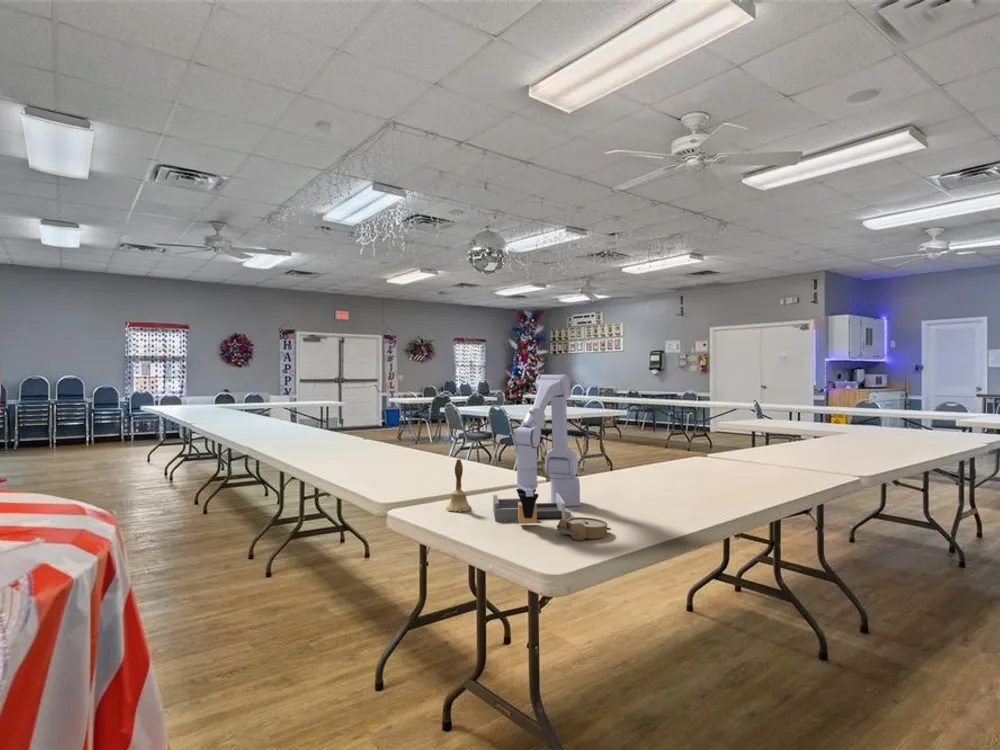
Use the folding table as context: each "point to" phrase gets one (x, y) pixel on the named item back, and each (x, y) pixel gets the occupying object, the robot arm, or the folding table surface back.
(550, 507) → the tray
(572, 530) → the alarm clock
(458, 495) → the hand bell
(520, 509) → the block
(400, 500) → the folding table surface
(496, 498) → the frame
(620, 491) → the folding table surface
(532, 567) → the folding table surface
